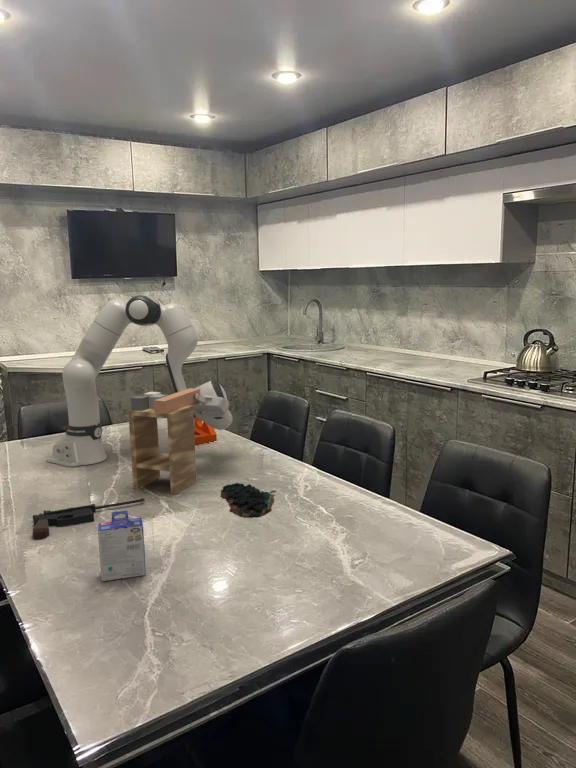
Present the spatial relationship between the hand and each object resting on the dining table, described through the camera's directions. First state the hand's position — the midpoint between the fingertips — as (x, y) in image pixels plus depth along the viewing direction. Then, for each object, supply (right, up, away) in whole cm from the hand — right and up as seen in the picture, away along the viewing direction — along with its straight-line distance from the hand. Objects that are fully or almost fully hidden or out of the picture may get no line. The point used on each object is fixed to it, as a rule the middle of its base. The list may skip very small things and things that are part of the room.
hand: (188, 395), depth 199 cm
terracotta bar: (-2, -3, -5) cm, 7 cm away
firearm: (-22, -35, -31) cm, 51 cm away
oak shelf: (-7, -30, -3) cm, 31 cm away
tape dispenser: (-6, -20, +53) cm, 57 cm away
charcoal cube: (-14, -4, -9) cm, 17 cm away
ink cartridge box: (-4, -40, -62) cm, 74 cm away
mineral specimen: (+22, -32, -17) cm, 43 cm away
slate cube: (-8, -4, -7) cm, 12 cm away
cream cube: (-11, -3, -2) cm, 12 cm away
